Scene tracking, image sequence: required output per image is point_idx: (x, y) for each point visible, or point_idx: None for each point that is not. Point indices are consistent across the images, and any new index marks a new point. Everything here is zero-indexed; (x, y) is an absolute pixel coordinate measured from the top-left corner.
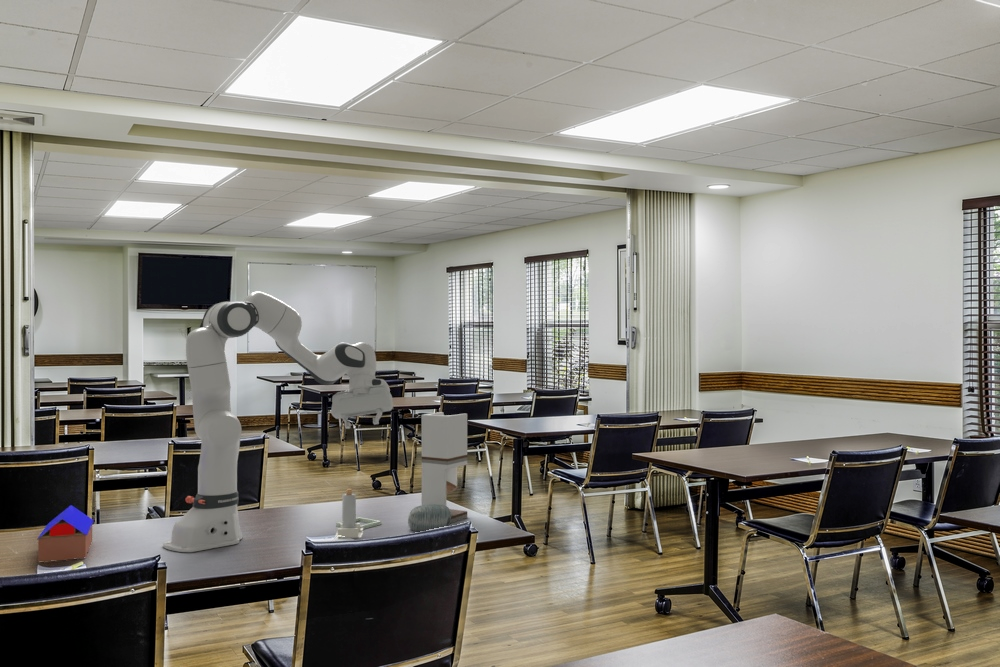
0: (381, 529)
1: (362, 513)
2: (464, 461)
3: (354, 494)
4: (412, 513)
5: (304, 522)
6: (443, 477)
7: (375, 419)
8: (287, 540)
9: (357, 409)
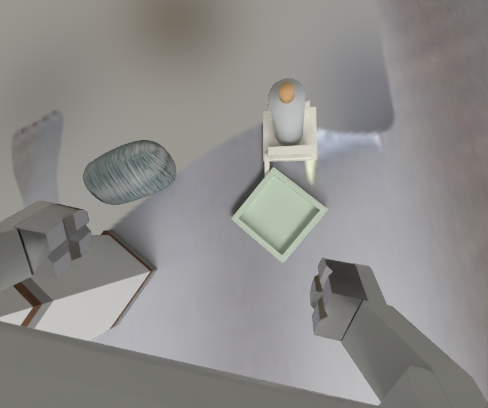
0: (231, 195)
1: (285, 361)
2: None
3: (272, 100)
4: (154, 145)
5: (415, 280)
6: None
7: (36, 212)
8: (416, 111)
9: (173, 384)
